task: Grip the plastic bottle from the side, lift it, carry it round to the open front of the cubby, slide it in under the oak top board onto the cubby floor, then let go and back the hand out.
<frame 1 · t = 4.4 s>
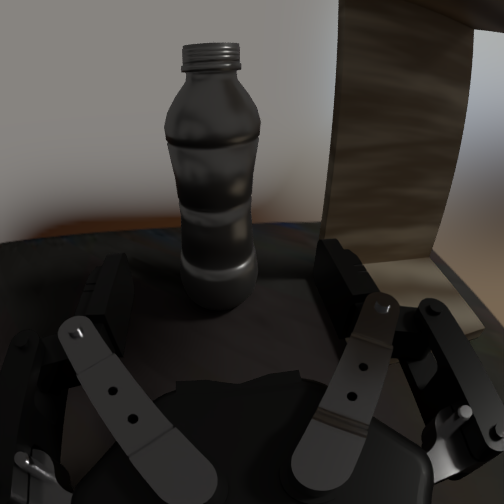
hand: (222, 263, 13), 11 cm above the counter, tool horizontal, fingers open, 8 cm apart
cubby shelf: (398, 304, 26), on the counter
plastic bottle: (220, 294, 28), on the counter
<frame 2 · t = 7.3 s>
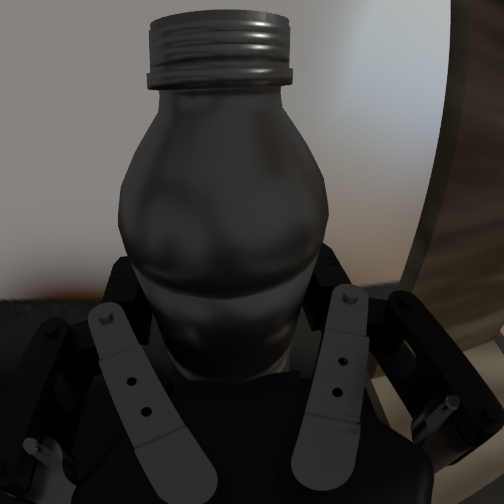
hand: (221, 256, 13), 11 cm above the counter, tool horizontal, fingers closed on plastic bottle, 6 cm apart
cubby shelf: (462, 416, 16), on the counter
plastic bottle: (235, 422, 18), on the counter, touching gripper
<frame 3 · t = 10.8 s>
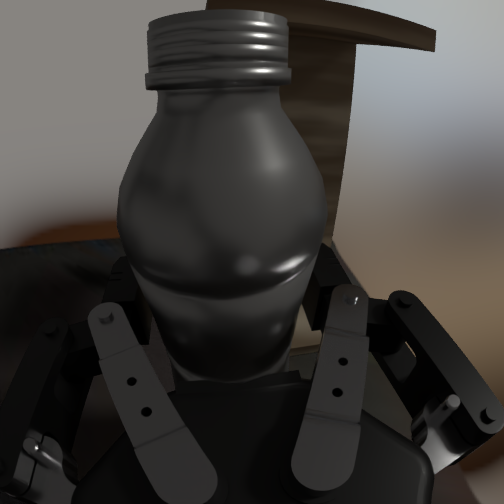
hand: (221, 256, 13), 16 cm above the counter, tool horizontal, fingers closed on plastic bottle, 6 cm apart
cubby shelf: (281, 308, 32), on the counter
plastic bottle: (235, 423, 18), point 4 cm above the counter, touching gripper
when the fingers open (12 cm above the counter, at t = 14.8 s): plastic bottle stays where it is, resting on cubby shelf.
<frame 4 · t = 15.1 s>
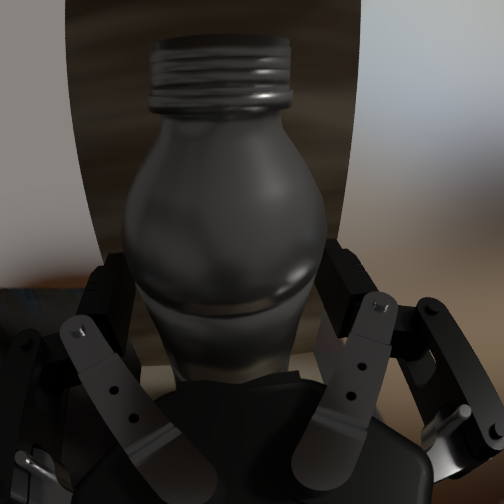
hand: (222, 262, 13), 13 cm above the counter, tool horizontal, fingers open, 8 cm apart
cubby shelf: (235, 425, 19), on the counter
plastic bottle: (235, 428, 18), point 1 cm above the counter, touching cubby shelf
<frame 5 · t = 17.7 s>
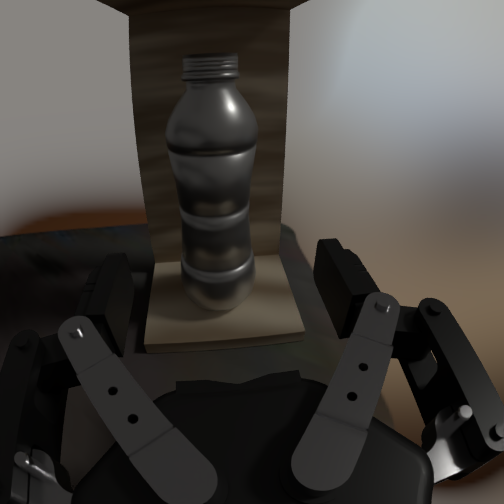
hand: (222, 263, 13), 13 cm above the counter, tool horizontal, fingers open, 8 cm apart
cubby shelf: (220, 299, 30), on the counter
plastic bottle: (219, 295, 29), point 1 cm above the counter, touching cubby shelf
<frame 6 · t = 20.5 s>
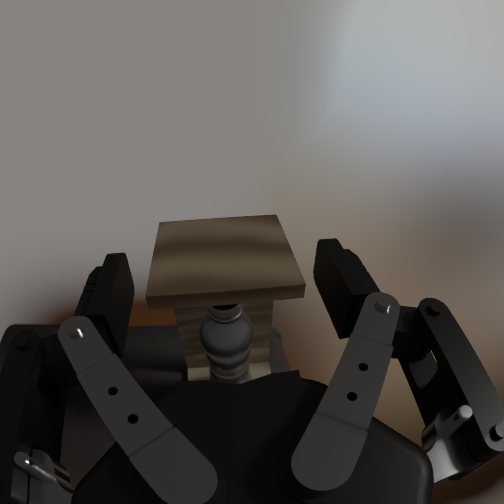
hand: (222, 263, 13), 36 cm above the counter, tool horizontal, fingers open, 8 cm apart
cubby shelf: (231, 394, 45), on the counter
plastic bottle: (231, 394, 44), point 1 cm above the counter, touching cubby shelf
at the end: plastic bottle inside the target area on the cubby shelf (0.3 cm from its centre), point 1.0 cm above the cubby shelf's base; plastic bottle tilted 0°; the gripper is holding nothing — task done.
